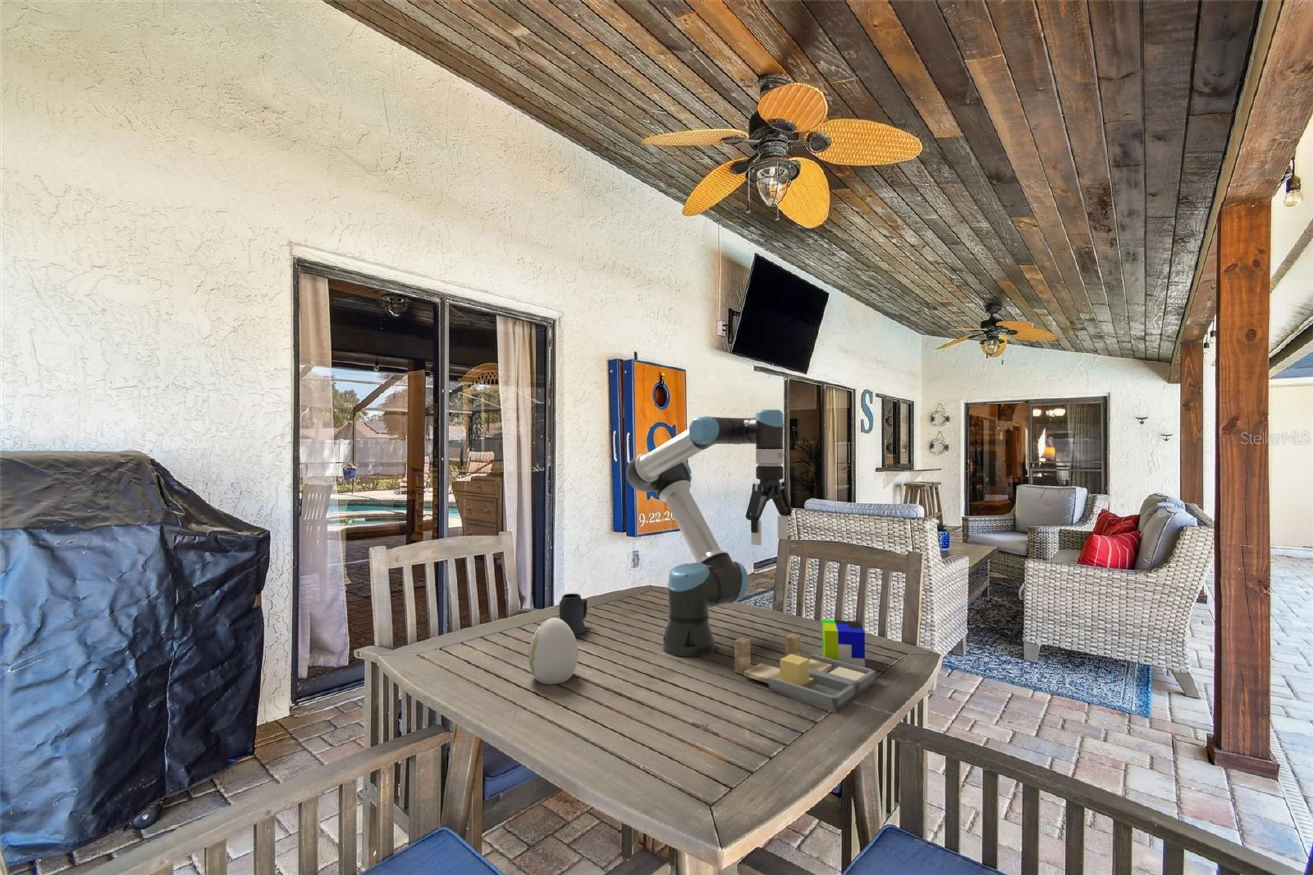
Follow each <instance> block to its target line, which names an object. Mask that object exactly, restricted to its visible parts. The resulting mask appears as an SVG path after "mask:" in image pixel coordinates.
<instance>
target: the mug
mask: <svg viewBox="0 0 1313 875" xmlns="http://www.w3.org/2000/svg"><path fill="white" fill-rule="evenodd" d="M558 606H559V609H558V611H559V619H561V620H563V621H564V622H565V623H566V624H567V625H568V626H569V627H570V628H571V630H572V632H573V633H574V636H575V637H577V636H581V635H584V634H585V633H587V629H586V625H585V623H584V620H585V618H586V617H587V615H588V599H585V598H582V596H581V595H580V594H579V593H576V592H575V593H565V594H562V597H561V600H560V601H559V603H558Z"/></svg>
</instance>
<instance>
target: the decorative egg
mask: <svg viewBox="0 0 1313 875" xmlns="http://www.w3.org/2000/svg"><path fill="white" fill-rule="evenodd" d="M578 662H579V647H578V641H577V639H576V636H574V633H573V632H572V630H571V628H570V627H569V626H568V625H567V624H566V623H565V622H564V621H563V620H561V619H560V617H559V618H558V617H549V618H548V619H546V620H545V621H543V622H542V623H541V624H540V625H539V626H538V628H537V629H536V631H535V632H534V634H533V637H532V639H531V641H530V644H529V651H528V664H529V668H530V671H531V673H532V675H533V677H534V678H535V679H536V680H537V682H539V683H541V684H543V685H544V684H545V685H559V684H562V683H565V682H567V681H569V679H571V677H572V676H573V675H574V672H575V671H576V670H577V669H576V668H577V666H578Z"/></svg>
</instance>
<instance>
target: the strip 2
mask: <svg viewBox="0 0 1313 875" xmlns="http://www.w3.org/2000/svg"><path fill="white" fill-rule="evenodd" d="M801 640H802V638H801V635H799V634H795V633H790V634H788V635H787V636H785V640H784V641H785V642H784V643H785V652H784V653H785V654H784V655H785V656H784V657H786V656H788V655H790V654H793V655H796V656H800V657H802V654H801V653H802V651H801V650H802V648H801V646H802V645H801V644H802V642H801ZM809 668H812V669H816V670H819V671H823V672H827V671H829V670H830V669H832V664H828V663H824V662H820V661H817V660H813V659H811V658H810V659H809Z"/></svg>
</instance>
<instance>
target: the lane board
mask: <svg viewBox="0 0 1313 875" xmlns="http://www.w3.org/2000/svg"><path fill="white" fill-rule="evenodd" d="M810 655H811V656H810V659H813V660H817V661H820V662H824V663H828V664H832V669H830V670H829V671H827V672H823V671H819V670H816V669H812V668H809V677H810V678H813V679H814V683H813V684H811V685H810V686H808V687H802V686H799V685H796V684H793V683H789V682H786V681H783V680H780V679H776V678H773V677H770V678H769V684H768V691H769V692H772V693H774V694H777V695H781V696H785V697H787V698H790V699H793V700H796V701H799V702H802V703H806V704H807V705H811V706H814V707H818V708H820V709H824V710H827V711H829V712H832V713H837V712H839V711H840V710H842V709H843V708H844V707H846V706H848V705H849V703H851V702H853V701H854V700H855V699H857V698H858V697H860V695H862V694H863V693H865V692H866V691H868V689H870V688H872V687H873V686H874V685H876V684H877V670H875V669H872V668H868V667H866V666H865V667H861V666H857V665H853V664H850V663H846V662H842V661H838V660H834V659H831V658H827V657H823V656H822V655H820V654H816V653H815V654H814V653H813V654H810Z"/></svg>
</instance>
